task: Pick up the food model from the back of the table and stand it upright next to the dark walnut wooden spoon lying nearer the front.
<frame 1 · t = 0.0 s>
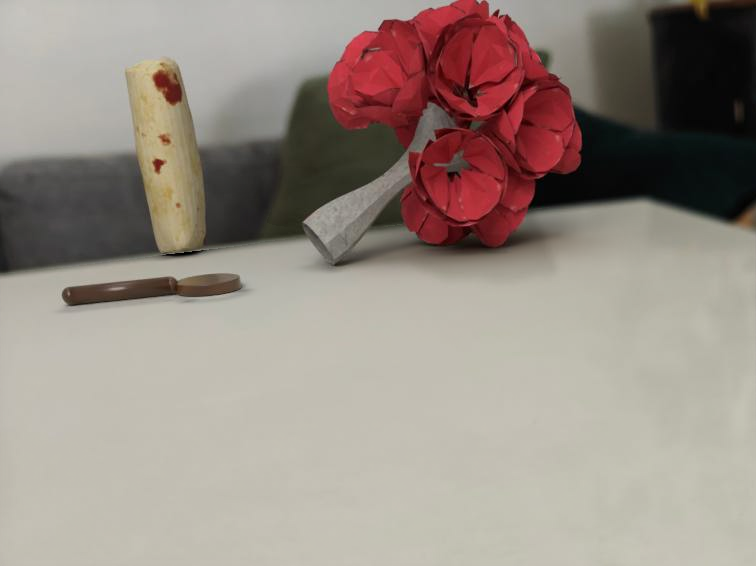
bouquet: (443, 251, 119), on the table
food model: (185, 253, 130), on the table
spoon: (150, 296, 105), on the table
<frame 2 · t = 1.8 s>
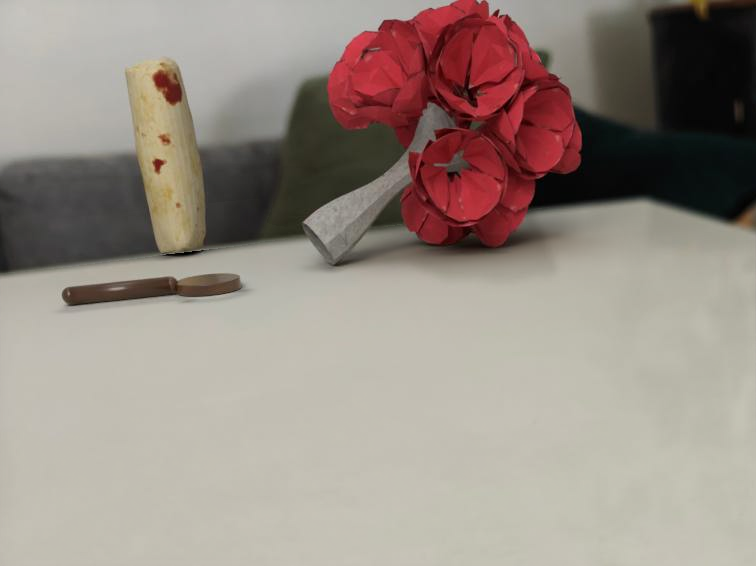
nothing on the table moved.
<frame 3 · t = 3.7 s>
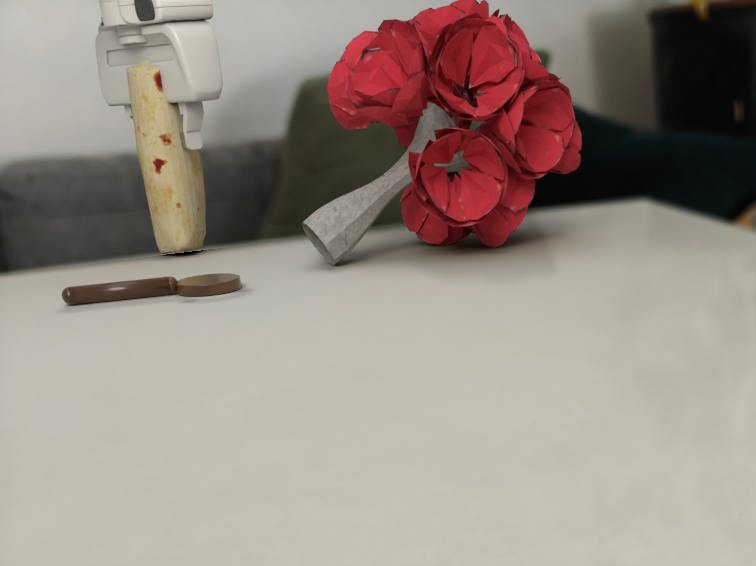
hand: (170, 149, 125), 11 cm above the table, tool pointing down, fingers open, 8 cm apart
food model: (185, 253, 130), on the table, touching gripper
everything else where it was.
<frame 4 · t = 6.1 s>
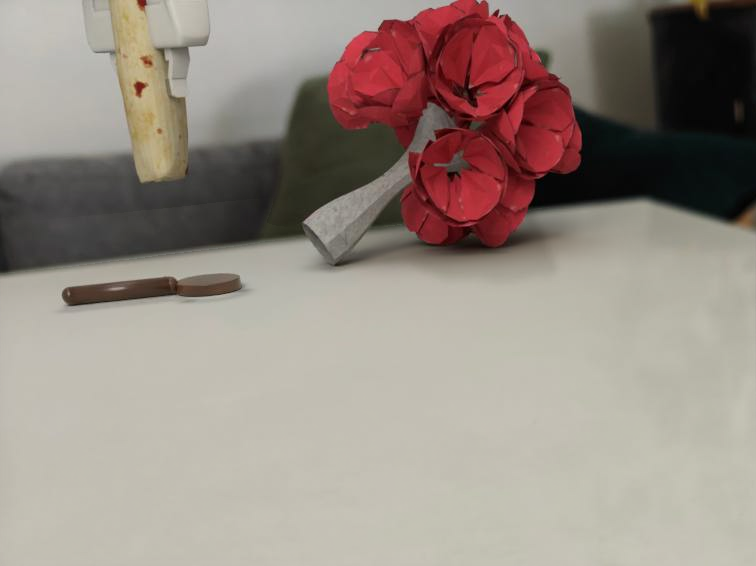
hand: (155, 97, 123), 16 cm above the table, tool pointing down, fingers closed on food model, 8 cm apart
food model: (166, 184, 127), point 7 cm above the table, touching arm, gripper
everything else where it was.
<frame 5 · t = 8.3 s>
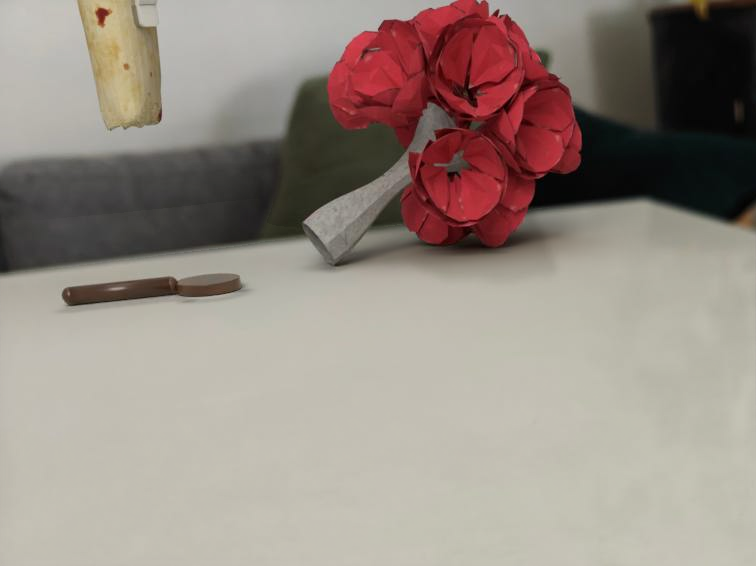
hand: (122, 30, 106), 22 cm above the table, tool pointing down, fingers closed on food model, 8 cm apart
food model: (137, 131, 110), point 14 cm above the table, touching arm, gripper
everything else where it was.
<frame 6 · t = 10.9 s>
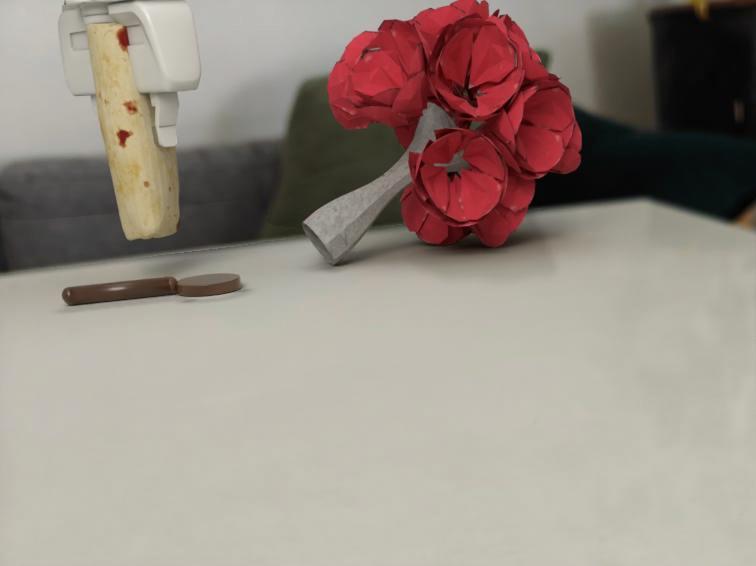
hand: (142, 146, 110), 12 cm above the table, tool pointing down, fingers closed on food model, 8 cm apart
food model: (156, 240, 114), point 4 cm above the table, touching arm, gripper
everything else where it was.
when the fingers open (9 cm above the table, at t = 13.2 s): food model stays where it is, on the table.
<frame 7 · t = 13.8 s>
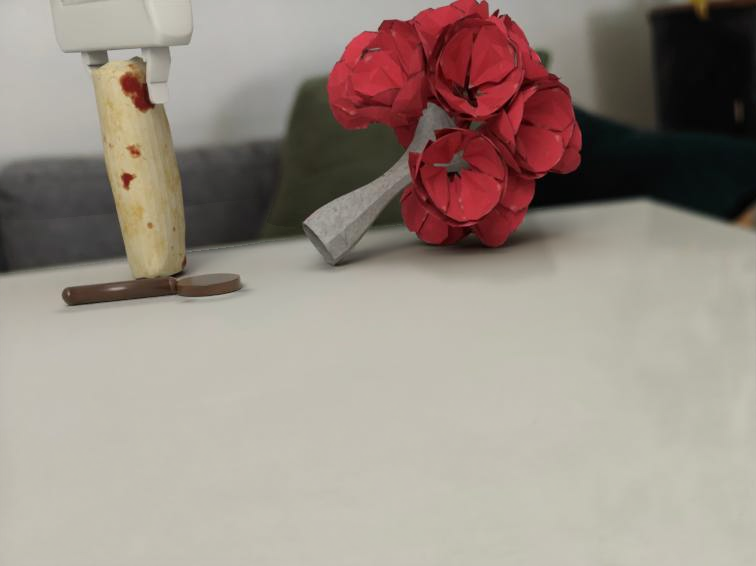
hand: (132, 103, 108), 16 cm above the table, tool pointing down, fingers open, 8 cm apart
food model: (162, 277, 116), on the table
everything else where it was.
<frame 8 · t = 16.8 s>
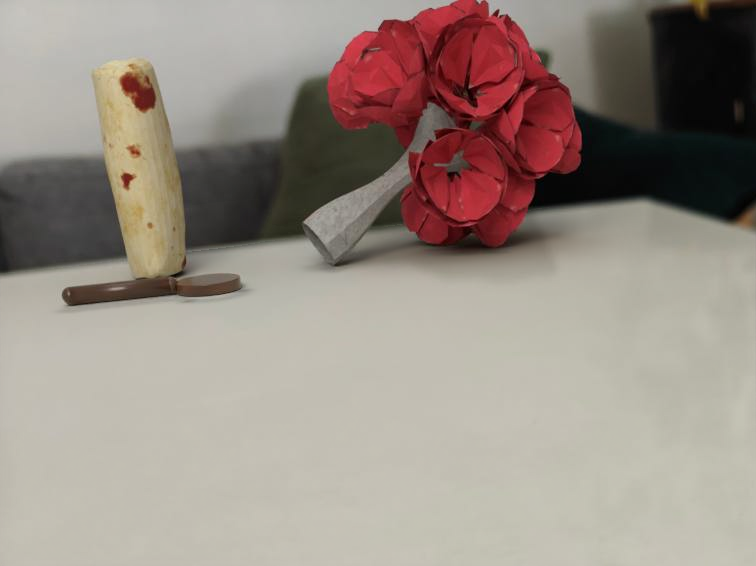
nothing on the table moved.
at the end: food model 11.5 cm from the spoon (horizontally); food model moved 16.3 cm from its start; food model tilted 0° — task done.
